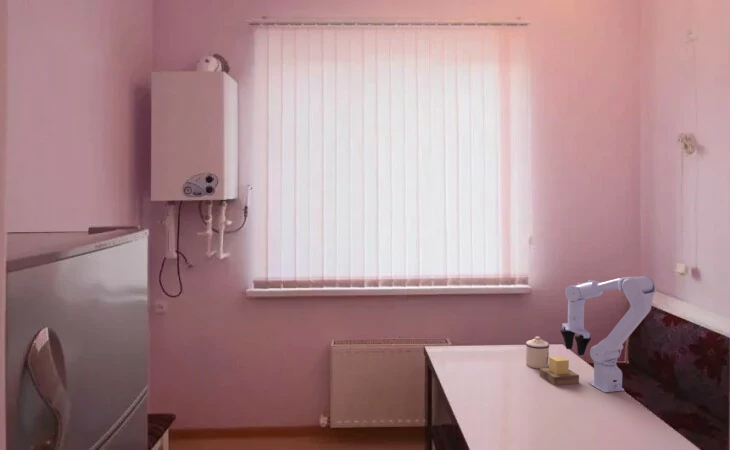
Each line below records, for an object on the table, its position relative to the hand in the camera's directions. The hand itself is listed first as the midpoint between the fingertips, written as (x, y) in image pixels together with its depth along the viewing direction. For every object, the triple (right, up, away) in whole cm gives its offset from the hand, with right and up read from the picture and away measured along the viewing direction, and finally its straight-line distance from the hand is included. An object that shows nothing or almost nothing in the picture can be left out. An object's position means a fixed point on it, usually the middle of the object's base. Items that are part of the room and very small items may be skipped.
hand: (574, 351), depth 204 cm
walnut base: (-7, -10, -3) cm, 12 cm away
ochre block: (-8, -7, -3) cm, 11 cm away
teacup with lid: (-10, -9, +15) cm, 20 cm away
